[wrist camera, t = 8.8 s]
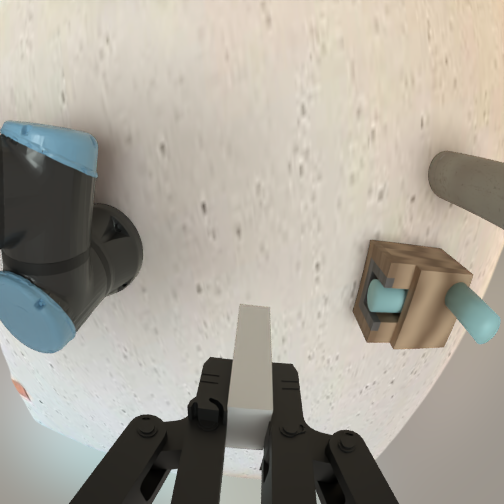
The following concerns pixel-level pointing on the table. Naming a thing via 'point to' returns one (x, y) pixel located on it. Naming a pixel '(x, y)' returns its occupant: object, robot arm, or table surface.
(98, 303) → the robot arm
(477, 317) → the dowel
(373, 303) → the dowel peg
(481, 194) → the thermos bottle
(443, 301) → the walnut socket block
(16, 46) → the table surface
